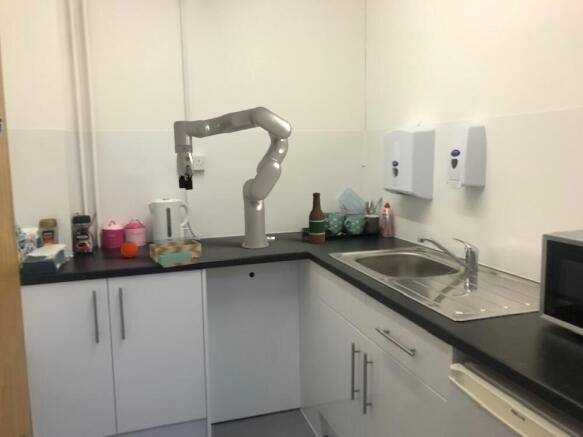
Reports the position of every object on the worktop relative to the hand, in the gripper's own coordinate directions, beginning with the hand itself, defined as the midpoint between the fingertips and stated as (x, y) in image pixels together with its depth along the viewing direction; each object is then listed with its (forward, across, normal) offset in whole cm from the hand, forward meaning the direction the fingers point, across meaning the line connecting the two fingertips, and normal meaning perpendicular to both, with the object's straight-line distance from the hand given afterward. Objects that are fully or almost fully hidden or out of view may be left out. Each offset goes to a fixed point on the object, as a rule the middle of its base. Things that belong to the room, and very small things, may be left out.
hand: (185, 188), depth 205 cm
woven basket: (+28, -7, +8) cm, 30 cm away
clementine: (+28, +3, +25) cm, 38 cm away
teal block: (+28, -19, +12) cm, 35 cm away
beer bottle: (+29, -14, -59) cm, 67 cm away
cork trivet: (+28, -18, +10) cm, 35 cm away
